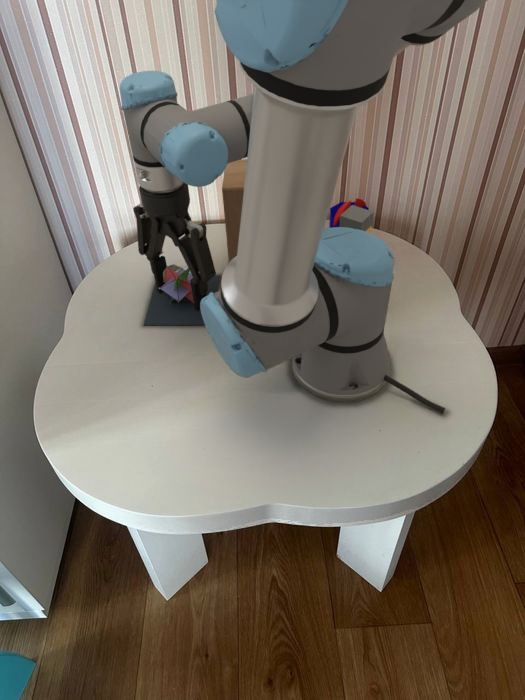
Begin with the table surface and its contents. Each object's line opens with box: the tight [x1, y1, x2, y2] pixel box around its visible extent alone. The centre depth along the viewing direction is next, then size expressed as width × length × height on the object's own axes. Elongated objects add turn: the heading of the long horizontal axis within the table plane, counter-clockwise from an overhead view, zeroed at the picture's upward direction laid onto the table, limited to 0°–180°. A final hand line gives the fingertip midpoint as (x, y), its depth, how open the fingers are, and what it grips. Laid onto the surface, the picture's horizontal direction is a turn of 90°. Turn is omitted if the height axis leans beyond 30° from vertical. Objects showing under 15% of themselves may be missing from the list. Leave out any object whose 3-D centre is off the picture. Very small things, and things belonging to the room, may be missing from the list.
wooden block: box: [221, 158, 247, 263], centre depth 101 cm, size 10×10×20 cm
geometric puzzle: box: [159, 263, 194, 303], centre depth 100 cm, size 7×7×8 cm
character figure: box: [339, 205, 374, 234], centre depth 94 cm, size 8×10×18 cm
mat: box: [143, 275, 221, 327], centre depth 102 cm, size 14×12×1 cm
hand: (182, 297), depth 102 cm, fingers open, 8 cm apart
